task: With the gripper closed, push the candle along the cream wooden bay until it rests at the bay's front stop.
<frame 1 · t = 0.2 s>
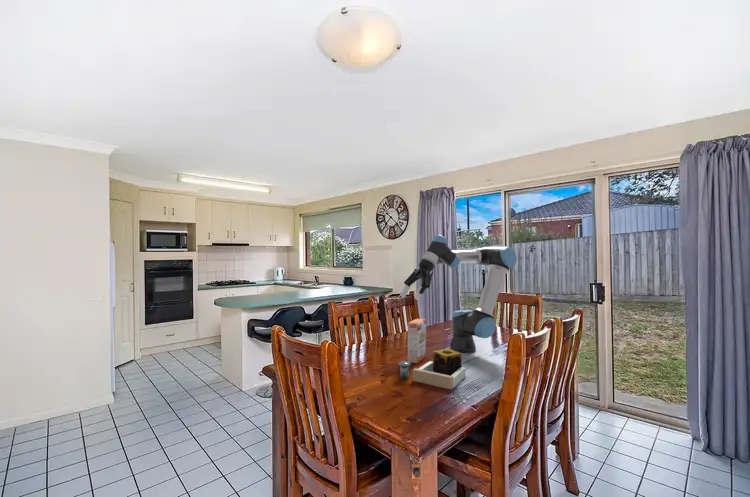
hand: (408, 298, 171), 35 cm above the table, tool tilted 35°, fingers open, 13 cm apart
cracker box: (417, 360, 186), on the table
bay: (440, 377, 159), on the table
mushroom drawer knob: (404, 377, 160), on the table
candle: (447, 373, 166), on the table
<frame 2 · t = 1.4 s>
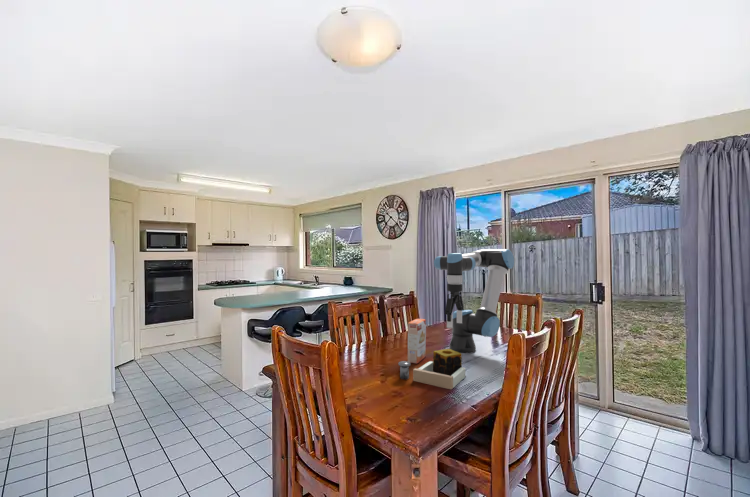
hand: (454, 325, 175), 21 cm above the table, tool pointing down, fingers open, 13 cm apart
nothing on the table moved.
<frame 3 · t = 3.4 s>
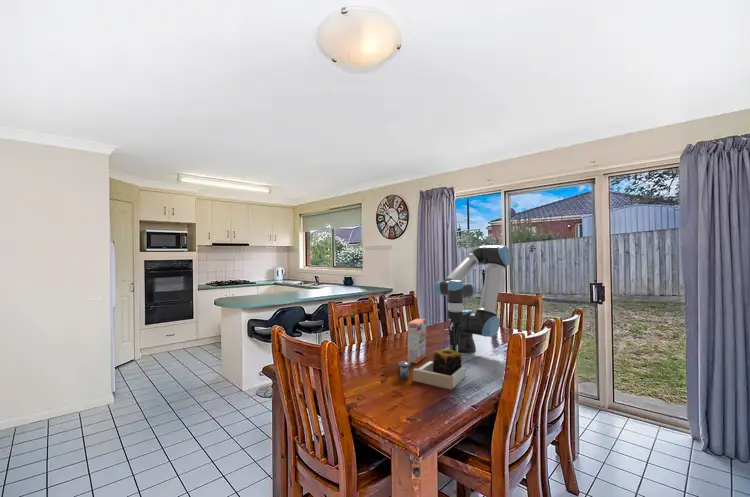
hand: (454, 357, 175), 5 cm above the table, tool pointing down, fingers closed
nothing on the table moved.
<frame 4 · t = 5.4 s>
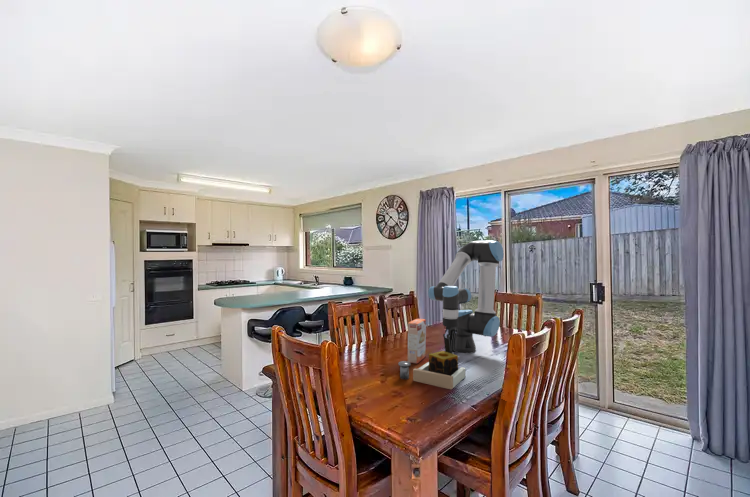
hand: (450, 365, 170), 2 cm above the table, tool pointing down, fingers closed
candle: (443, 376, 162), on the table, touching hand
everything else where it was.
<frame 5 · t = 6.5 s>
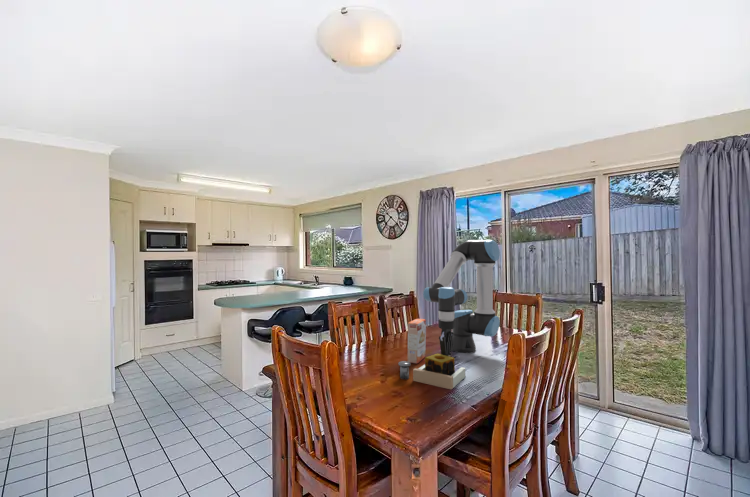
hand: (446, 368, 166), 2 cm above the table, tool pointing down, fingers closed
candle: (439, 379, 158), on the table, touching bay, hand
everything else where it was.
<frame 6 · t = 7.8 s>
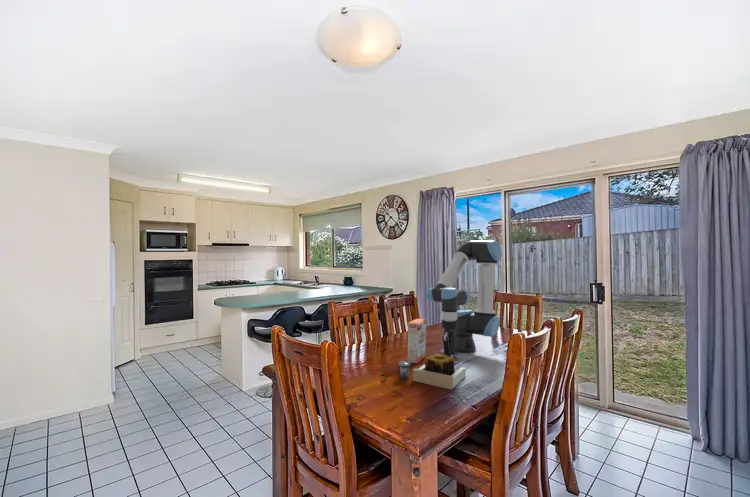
hand: (449, 368, 169), 1 cm above the table, tool pointing down, fingers closed
candle: (439, 380, 158), on the table
everything else where it was.
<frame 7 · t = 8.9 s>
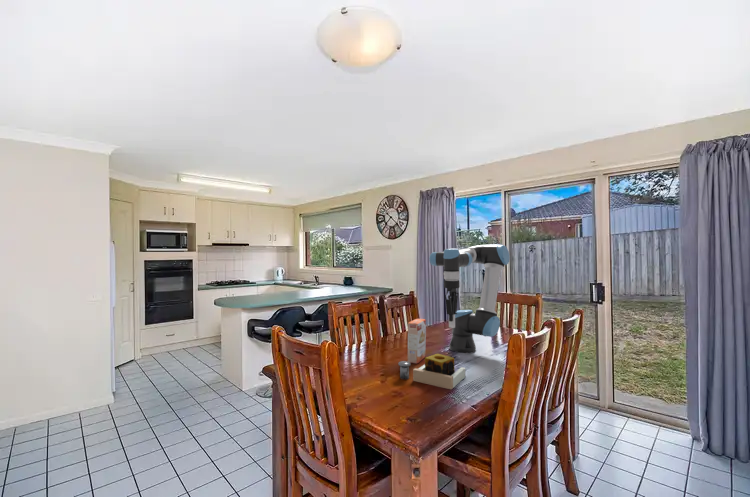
hand: (451, 327, 171), 21 cm above the table, tool pointing down, fingers closed
nothing on the table moved.
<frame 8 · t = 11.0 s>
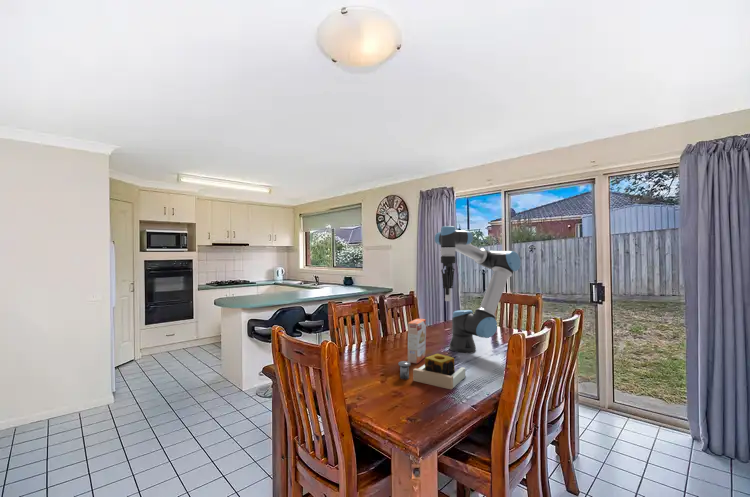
hand: (448, 300, 181), 32 cm above the table, tool pointing down, fingers closed
nothing on the table moved.
at the end: candle inside the target area (0.9 cm from its centre), on the table; candle tilted 0° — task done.
